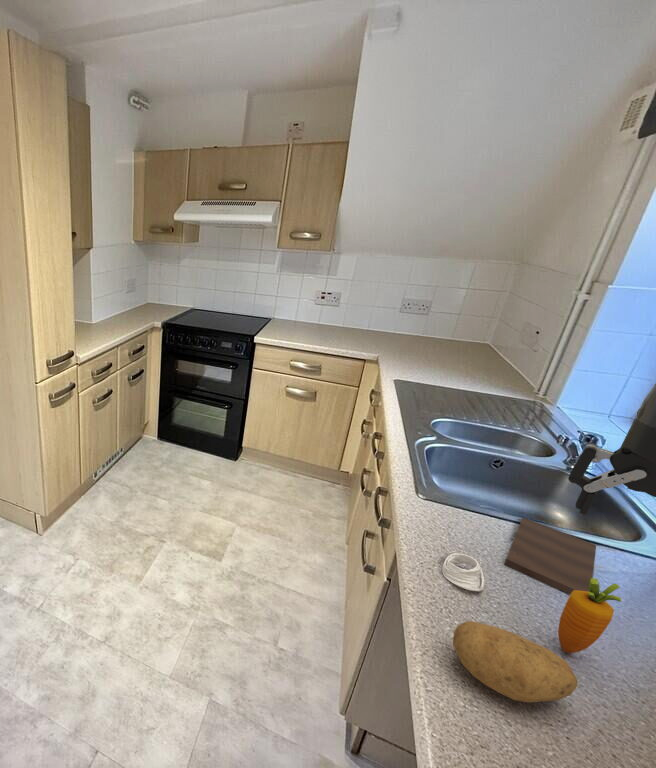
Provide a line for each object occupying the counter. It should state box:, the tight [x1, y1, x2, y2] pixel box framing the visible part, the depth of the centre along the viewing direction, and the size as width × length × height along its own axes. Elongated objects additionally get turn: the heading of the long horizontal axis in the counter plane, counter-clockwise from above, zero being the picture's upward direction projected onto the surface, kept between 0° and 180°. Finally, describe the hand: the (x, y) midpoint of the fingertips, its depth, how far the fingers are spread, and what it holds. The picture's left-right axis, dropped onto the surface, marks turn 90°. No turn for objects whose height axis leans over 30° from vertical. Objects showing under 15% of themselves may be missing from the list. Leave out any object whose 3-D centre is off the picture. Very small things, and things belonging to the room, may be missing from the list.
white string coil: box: [441, 552, 485, 592], centre depth 79 cm, size 8×7×5 cm
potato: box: [452, 620, 579, 703], centre depth 60 cm, size 10×14×8 cm
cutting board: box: [503, 516, 597, 595], centre depth 85 cm, size 20×12×2 cm, turn 132°
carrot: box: [557, 577, 623, 654], centre depth 63 cm, size 5×5×15 cm
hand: (624, 527), depth 58 cm, fingers open, 8 cm apart
